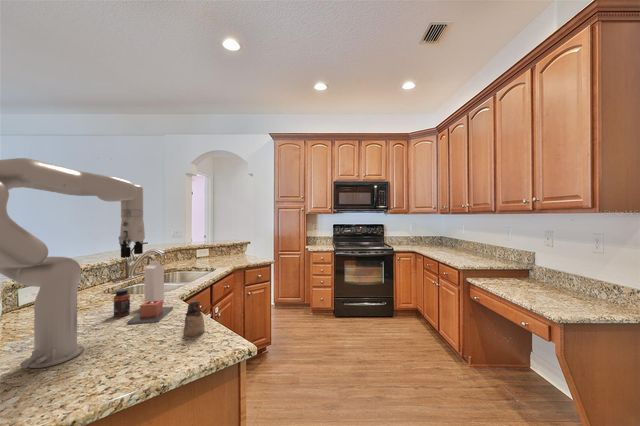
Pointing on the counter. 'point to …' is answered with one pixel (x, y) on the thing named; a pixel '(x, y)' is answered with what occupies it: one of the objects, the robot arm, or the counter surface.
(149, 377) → the counter surface
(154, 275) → the milk
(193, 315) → the figurine
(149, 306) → the red hollow square block
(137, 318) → the plate
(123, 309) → the supplement bottle
